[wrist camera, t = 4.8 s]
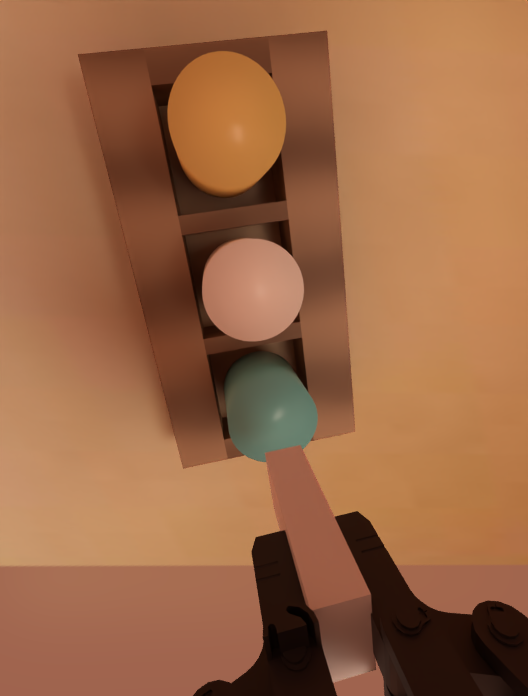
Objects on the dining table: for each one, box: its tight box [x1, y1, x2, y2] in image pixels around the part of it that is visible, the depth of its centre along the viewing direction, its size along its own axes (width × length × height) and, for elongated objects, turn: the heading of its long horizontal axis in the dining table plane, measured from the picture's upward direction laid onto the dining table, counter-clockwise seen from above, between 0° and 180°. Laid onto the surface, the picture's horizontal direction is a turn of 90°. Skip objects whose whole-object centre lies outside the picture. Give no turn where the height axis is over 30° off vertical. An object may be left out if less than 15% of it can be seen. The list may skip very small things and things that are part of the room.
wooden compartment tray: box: [78, 31, 355, 468], centre depth 23 cm, size 23×12×4 cm, turn 8°
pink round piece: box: [202, 238, 304, 341], centre depth 19 cm, size 5×5×5 cm
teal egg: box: [224, 351, 318, 462], centre depth 21 cm, size 5×5×5 cm
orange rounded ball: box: [167, 51, 286, 198], centre depth 17 cm, size 5×5×5 cm
